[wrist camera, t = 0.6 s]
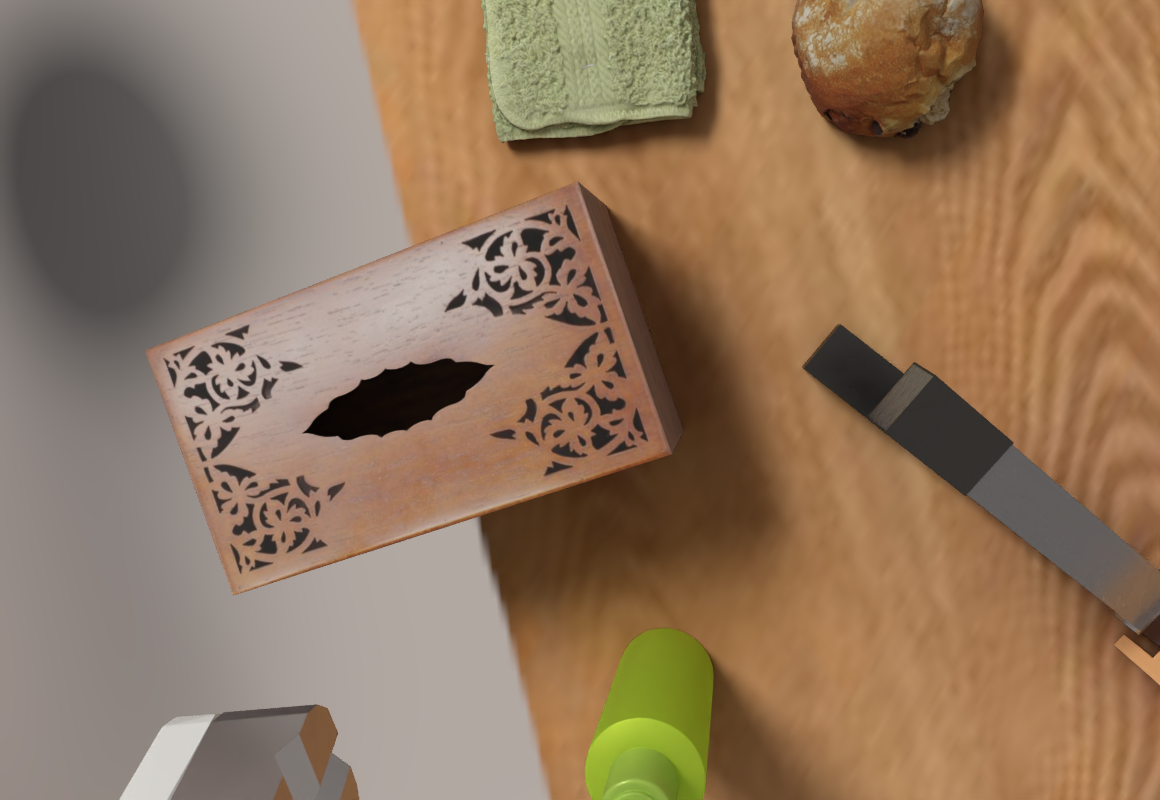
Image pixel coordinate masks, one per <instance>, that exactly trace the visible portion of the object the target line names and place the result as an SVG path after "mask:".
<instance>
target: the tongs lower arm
mask: <svg viewBox="0 0 1160 800" xmlns="http://www.w3.org/2000/svg"><path fill="white" fill-rule="evenodd" d="M802 367H803V368H804V369H805V370H806V371H808V372H809V373H810V374H812V375H813V376H814V377H815V378H817V379H818V380H819V381H820V382H822V383H823V384H824V385H825V386H827V387H828V388H829V389H831V390H832V391H833V392H834V393H836V394H837V395H838V396H839V397H841V398H842V399H843V400H844V401H846V402H847V403H848V404H850V405H851V406H852V407H853V408H855V409H856V410H857V411H858V412H860V413H861V414H862V415H864V416H865V417H867V416H868V415H869V414H870V413H871V412H872V410H873V409H874V408H875V407H876V406H877V405H878V404H879V402H880V401H881V400H882V399H883V398H884V397H885V395H886V394H887V393H888V392H889V391H890V390H891V388H892V387H893V386H894V385H895V384H896V383H897V382H898V380H899V379H900V378H901V377H902V376H903V375H904V374H903V373H902V372H901V371H900V370H898V369H897V368H896V367H895V366H893V365H892V364H891V363H889V362H888V361H887V360H886V359H884V358H883V357H882V356H880V355H879V354H878V353H877V352H875V351H874V350H873V349H871V348H870V347H869V346H868V345H866V344H865V343H864V342H862V341H861V340H860V339H859V338H857V337H856V336H855V335H854V334H852V333H851V332H850V331H848V330H847V329H846V328H845V327H843V326H842V325H841V324H838V325H837V326H836V327H835V328H834V329H833V331H832V332H831V333H830V334H829V335H828V337H827V338H826V339H825V340H824V341H823V342H822V344H821V345H820V346H819V347H818V348H817V350H816V351H815V352H814V353H813V354H812V356H811V357H810V358H809V359H808V360H807V362H806V363H805V364H804V365H803V366H802ZM970 498H971V497H970ZM974 501H975V500H974ZM975 502H976V501H975ZM979 505H980V504H979ZM980 506H981V505H980ZM984 509H985V508H984ZM989 513H990V512H989ZM993 516H994V515H993ZM994 517H995V516H994ZM998 520H999V519H998ZM1003 524H1004V523H1003ZM1008 528H1009V527H1008ZM1012 531H1013V530H1012ZM1013 532H1014V531H1013ZM1017 535H1018V534H1017ZM1022 539H1023V538H1022ZM1027 543H1028V542H1027ZM1031 546H1032V545H1031ZM1032 547H1033V546H1032ZM1036 550H1037V549H1036ZM1041 554H1042V553H1041ZM1046 558H1047V557H1046ZM1055 565H1056V564H1055ZM1060 569H1061V568H1060ZM1065 573H1066V572H1065ZM1074 580H1075V579H1074ZM1079 584H1080V583H1079ZM1084 588H1085V587H1084ZM1093 595H1094V594H1093ZM1098 599H1099V598H1098ZM1112 610H1113V609H1112ZM1142 633H1143V634H1144V635H1145V636H1147V637H1148V638H1149V639H1150V640H1152V641H1153V642H1154V643H1156V644H1157V645H1158V646H1159V647H1160V615H1159V616H1158V617H1157V618H1156V619H1155V620H1154V621H1153V622H1152V623H1151V624H1150V625H1149V626H1148V627H1147V628H1146V629H1145V630H1144V631H1143V632H1142Z"/></svg>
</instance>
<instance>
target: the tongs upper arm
mask: <svg viewBox="0 0 1160 800" xmlns="http://www.w3.org/2000/svg"><path fill="white" fill-rule="evenodd" d="M866 418H867V419H868V420H870V421H871V422H872V423H873V424H875V425H876V426H877V427H879V428H880V429H881V430H882V431H884V432H885V433H886V434H887V435H889V436H890V437H891V438H892V439H894V440H895V441H896V442H898V443H899V444H900V445H901V446H903V447H904V448H905V449H906V450H908V451H909V452H910V453H911V454H913V455H914V456H915V457H917V458H918V459H919V460H920V461H922V462H923V463H924V464H925V465H927V466H928V467H929V468H931V469H932V470H933V471H934V472H936V473H937V474H938V475H939V476H941V477H942V478H943V479H944V480H946V481H947V482H948V483H950V484H951V485H952V486H953V487H955V488H956V489H957V490H958V491H960V492H961V493H962V494H964V495H965V496H966V495H968V496H969V497H971V498H972V499H973V500H975V501H976V502H977V503H978V504H980V505H981V506H982V507H983V508H985V509H986V510H987V511H988V512H990V513H991V514H992V515H994V516H995V517H996V518H997V519H999V520H1000V521H1001V522H1002V523H1004V524H1005V525H1006V526H1007V527H1009V528H1010V529H1011V530H1013V531H1014V532H1015V533H1016V534H1018V535H1019V536H1020V537H1021V538H1023V539H1024V540H1025V541H1026V542H1028V543H1029V544H1030V545H1032V546H1033V547H1034V548H1035V549H1037V550H1038V551H1039V552H1040V553H1042V554H1043V555H1044V556H1045V557H1047V558H1048V559H1049V560H1050V561H1052V562H1053V563H1054V564H1056V565H1057V566H1058V567H1059V568H1061V569H1062V570H1063V571H1064V572H1066V573H1067V574H1068V575H1069V576H1071V577H1072V578H1073V579H1075V580H1076V581H1077V582H1078V583H1080V584H1081V585H1082V586H1083V587H1085V588H1086V589H1087V590H1088V591H1090V592H1091V593H1092V594H1094V595H1095V596H1096V597H1097V598H1099V599H1100V600H1101V601H1102V602H1104V603H1105V604H1106V605H1107V606H1109V607H1110V608H1111V609H1113V610H1114V611H1115V612H1116V613H1115V614H1114V616H1115V617H1117V618H1118V619H1119V620H1120V621H1122V622H1123V623H1124V624H1125V625H1127V626H1128V627H1129V628H1130V629H1132V630H1133V631H1134V632H1136V633H1137V634H1138V635H1140V634H1141V633H1142V632H1143V631H1144V630H1145V629H1146V628H1147V627H1148V626H1149V625H1150V624H1151V623H1152V622H1153V621H1154V620H1155V619H1156V618H1157V617H1158V616H1159V615H1160V569H1158V570H1157V569H1156V568H1155V567H1154V566H1153V565H1151V564H1150V563H1149V562H1148V561H1147V560H1146V559H1144V558H1143V557H1142V556H1141V555H1140V554H1139V553H1137V552H1136V551H1135V550H1134V549H1133V548H1132V547H1130V546H1129V545H1128V544H1127V543H1126V542H1125V541H1123V540H1122V539H1121V538H1120V537H1119V536H1118V535H1117V534H1115V533H1114V532H1113V531H1112V530H1111V529H1110V528H1108V527H1107V526H1106V525H1105V524H1104V523H1103V522H1101V521H1100V520H1099V519H1098V518H1097V517H1096V516H1094V515H1093V514H1092V513H1091V512H1090V511H1089V510H1087V509H1086V508H1085V507H1084V506H1083V505H1082V504H1081V503H1079V502H1078V501H1077V500H1076V499H1075V498H1074V497H1072V496H1071V495H1070V494H1069V493H1068V492H1067V491H1065V490H1064V489H1063V488H1062V487H1061V486H1060V485H1058V484H1057V483H1056V482H1055V481H1054V480H1053V479H1051V478H1050V477H1049V476H1048V475H1047V474H1046V473H1045V472H1043V471H1042V470H1041V469H1040V468H1039V467H1038V466H1036V465H1035V464H1034V463H1033V462H1032V461H1031V460H1029V459H1028V458H1027V457H1026V456H1025V455H1024V454H1022V453H1021V452H1020V451H1019V450H1018V449H1017V448H1015V447H1014V446H1013V445H1012V444H1013V442H1012V441H1011V440H1010V439H1009V438H1008V437H1006V436H1005V435H1004V434H1003V433H1002V432H1001V431H999V430H998V429H997V428H996V427H995V426H994V425H992V424H991V423H990V422H989V421H988V420H987V419H986V418H984V417H983V416H982V415H981V414H980V413H979V412H977V411H976V410H975V409H974V408H973V407H972V406H970V405H969V404H968V403H967V402H966V401H965V400H964V399H962V398H961V397H960V396H959V395H958V394H957V393H955V392H954V391H953V390H952V389H951V388H950V387H948V386H947V385H946V384H945V383H944V382H943V381H942V380H940V379H939V378H938V377H937V376H936V375H934V374H933V373H931V372H929V371H928V370H926V369H925V368H923V367H921V366H920V365H918V364H917V363H915V362H914V363H913V364H912V365H911V366H910V368H909V369H908V370H907V371H906V372H905V373H904V375H903V376H902V377H901V378H900V379H899V380H898V382H897V383H896V384H895V385H894V386H893V387H892V388H891V390H890V391H889V392H888V393H887V394H886V395H885V397H884V398H883V399H882V400H881V401H880V402H879V404H878V405H877V406H876V407H875V408H874V409H873V410H872V412H871V413H870V414H869V415H868V416H867V417H866Z"/></svg>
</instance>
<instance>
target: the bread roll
mask: <svg viewBox="0 0 1160 800" xmlns="http://www.w3.org/2000/svg"><path fill="white" fill-rule="evenodd" d="M983 14H984V10H983V6H982V0H798V1H797V4H796V7H795V11H794V15H793V19H792V29H793V34H792V42H793V45H794V53H795V55H796V57H797V58H798V64H799V67H800V68H801V70H802V72H801V78H802V79H803V81H804V83H805V86H806V89H807V91H808V92H809V94H810V95H811V100H812V102H813V103H814V105H815V106H816V108H817V110H818V112H819V113H820V114H821V116H822V117H824V118H825V119H827V120H828V121H831V122H833V123H834V124H835V125H837V126H838V127H839V128H840V129H841V130H843V131H845V132H848V133H852V134H856V135H864V136H873V137H891V136H893V135H894V136H895V137H896V136H900V137H903V138H913V137H914V135H916V134H917V133H918V131H919V129H920V127H921V125H922V122H923V123H925V124H928V125H933V124H935V123H936V122H939V121H941V120H943V119H945V118H946V116H947V114H948V113H949V111H950V108H949V103H948V101H949V99H950V93H951V89H953V85H954V83H956V82H957V81H959V80H960V79H961V78H962V77H963V76H964V74H966V73H967V72H969V71H970V70H972V69H973V67H975V66H976V52H977V49H978V46H979V43H980V41H981V38H982V30H983ZM941 82H942V84H941Z"/></svg>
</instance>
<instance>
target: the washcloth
mask: <svg viewBox="0 0 1160 800" xmlns="http://www.w3.org/2000/svg"><path fill="white" fill-rule="evenodd" d="M481 2H482V6H481V8H482V9H483V14H484V25H483V29H484V30H485V31H486V33H487V43H486V49H487V52H486V53H485V56H486V62H487V66H488V71H487V78H488V82H489V94H490V97H491V101H492V102H493V111H492V113H493V115H494V122H495V124H496V132H497V135H498V138H499V140H500V141H501V142H502V143H504V142H506V141H510V140H511V141H512V140H521V139H523V140H525V139H532V138H565V137H578V136H592V135H594V134H598V133H603V132H606V131H610V130H612V129H614V128H616V127H618V126H623V125H631V124H638V123H645V122H653V121H659V120H675V119H688V118H691V117H692V111H693V107H694V106H695V107H698V105H697V100H696V96H697V94H696V93H703V92H704V80H705V79H706V67H705V55H706V53H705V52H704V51H703V50H702V48H703V47H702V45H701V44H700V36H699V31H700V25H699V22H698V18H697V12H696V5H697V4H696V2H695V1H694V0H481Z"/></svg>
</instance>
